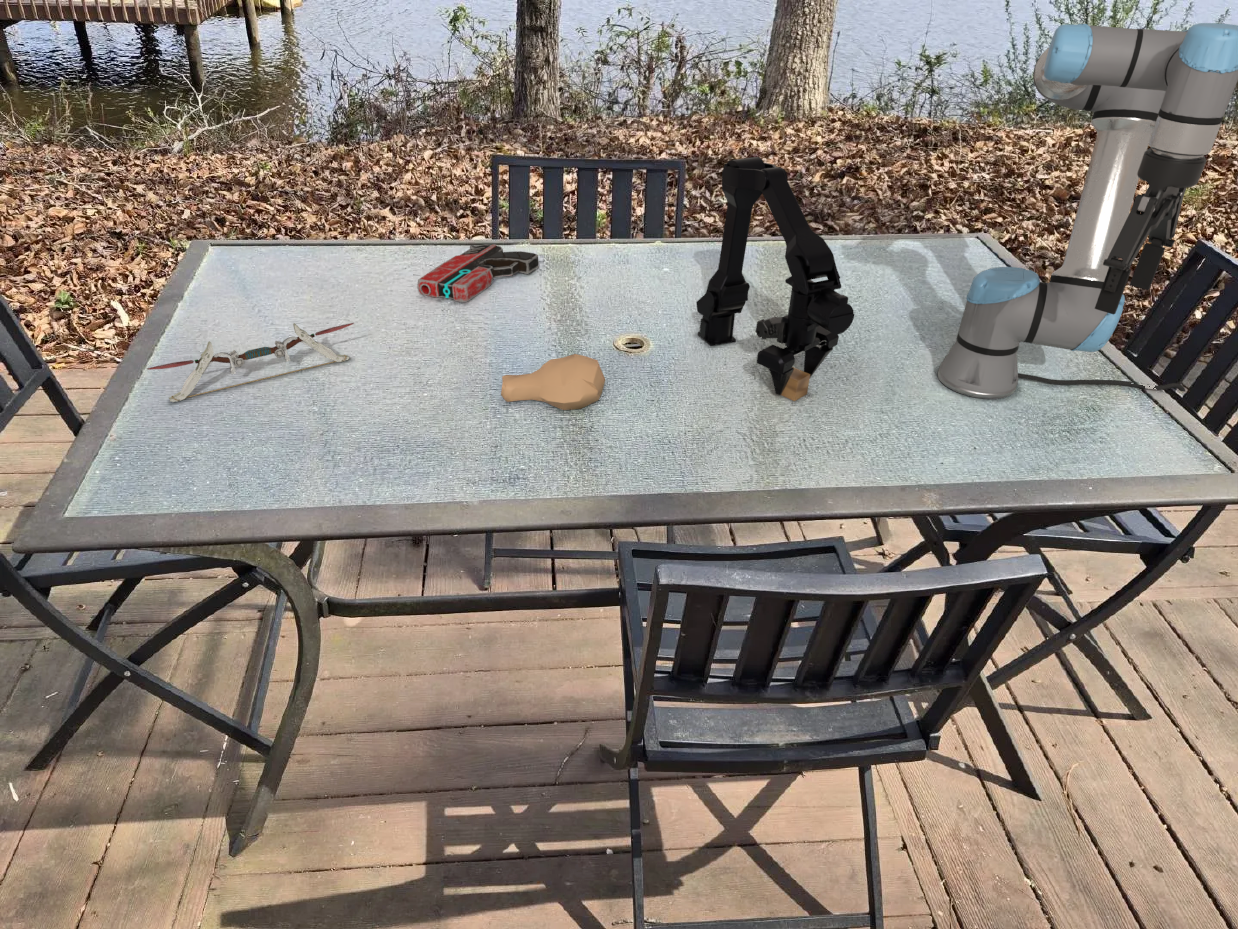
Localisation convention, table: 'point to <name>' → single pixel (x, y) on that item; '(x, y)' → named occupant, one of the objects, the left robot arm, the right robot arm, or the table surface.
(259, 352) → the bow
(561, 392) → the squash
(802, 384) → the block
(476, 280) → the gun
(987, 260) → the table surface
